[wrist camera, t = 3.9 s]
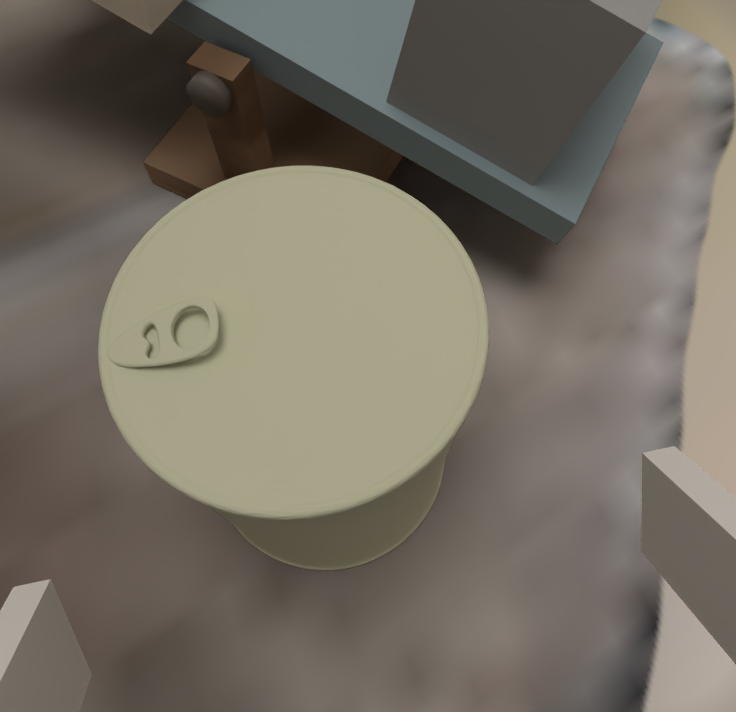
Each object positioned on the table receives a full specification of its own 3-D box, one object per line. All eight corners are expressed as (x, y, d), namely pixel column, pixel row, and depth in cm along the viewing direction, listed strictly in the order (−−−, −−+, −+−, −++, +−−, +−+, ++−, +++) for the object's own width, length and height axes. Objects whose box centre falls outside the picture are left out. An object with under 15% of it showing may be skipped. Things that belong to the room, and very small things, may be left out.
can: (201, 367, 27) (78, 184, 16) (413, 325, 27) (437, 120, 16) (227, 595, 23) (91, 563, 12) (471, 541, 24) (552, 463, 13)
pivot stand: (153, 183, 31) (82, 41, 23) (309, -8, 36) (291, -172, 28) (333, 265, 29) (318, 139, 21) (471, 51, 34) (496, -110, 26)
